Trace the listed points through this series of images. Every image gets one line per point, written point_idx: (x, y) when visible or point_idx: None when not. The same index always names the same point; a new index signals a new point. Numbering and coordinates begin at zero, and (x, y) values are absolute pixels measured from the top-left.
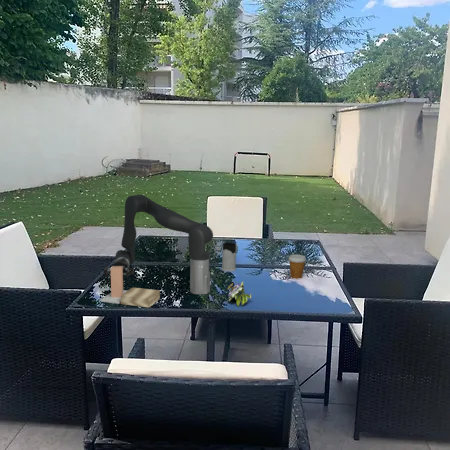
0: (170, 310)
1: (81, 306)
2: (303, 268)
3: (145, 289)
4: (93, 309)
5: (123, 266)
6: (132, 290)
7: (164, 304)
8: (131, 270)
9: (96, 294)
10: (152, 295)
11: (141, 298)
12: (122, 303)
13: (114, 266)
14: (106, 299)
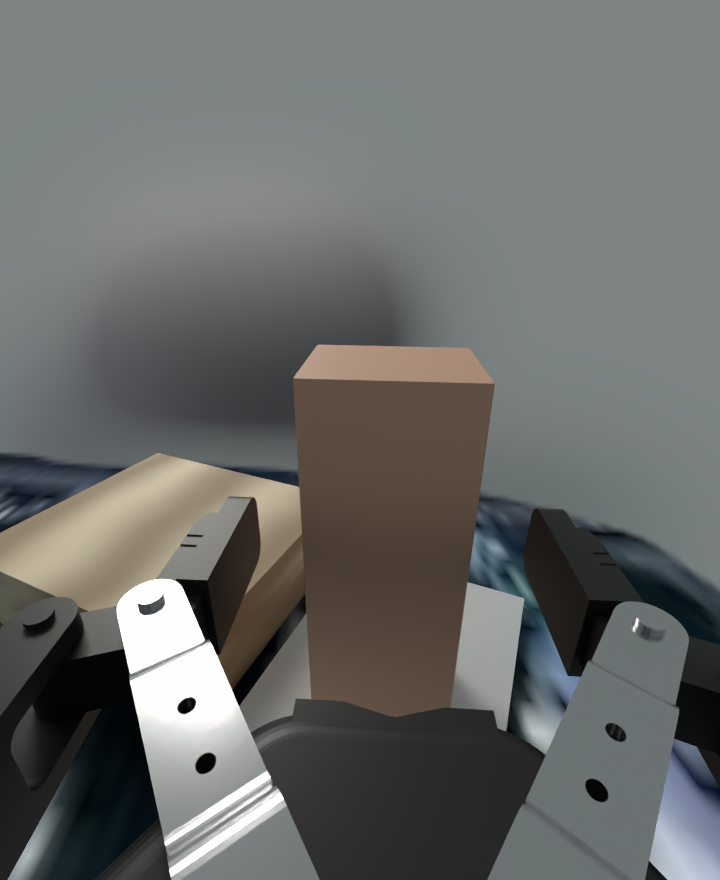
0: (77, 472)
1: (603, 542)
2: None
3: (74, 585)
4: (497, 506)
5: (209, 845)
6: None
7: None
8: (75, 607)
9: (688, 822)
10: (103, 484)
11: (200, 465)
12: None
13: (442, 378)
14: (467, 610)
